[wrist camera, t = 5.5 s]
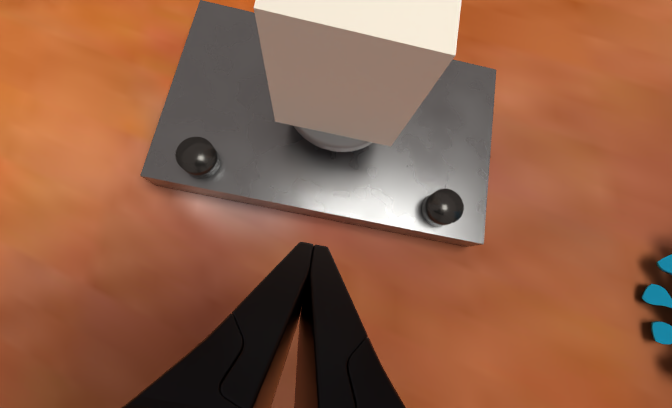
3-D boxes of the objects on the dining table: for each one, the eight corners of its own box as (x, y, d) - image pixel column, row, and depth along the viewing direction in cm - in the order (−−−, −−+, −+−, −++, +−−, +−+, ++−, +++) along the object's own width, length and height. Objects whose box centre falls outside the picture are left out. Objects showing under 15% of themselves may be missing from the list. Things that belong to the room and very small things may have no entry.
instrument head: (384, 162, 17) (463, 56, 9) (274, 138, 17) (245, 4, 8) (407, 17, 19) (488, -182, 11) (310, -7, 19) (315, -231, 10)
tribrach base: (466, 246, 20) (495, 242, 17) (156, 185, 19) (128, 168, 16) (480, 86, 23) (507, 58, 20) (209, 24, 22) (193, -17, 19)
